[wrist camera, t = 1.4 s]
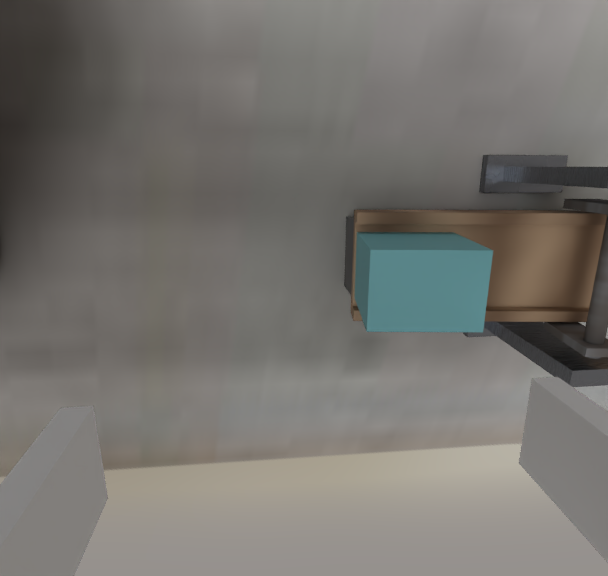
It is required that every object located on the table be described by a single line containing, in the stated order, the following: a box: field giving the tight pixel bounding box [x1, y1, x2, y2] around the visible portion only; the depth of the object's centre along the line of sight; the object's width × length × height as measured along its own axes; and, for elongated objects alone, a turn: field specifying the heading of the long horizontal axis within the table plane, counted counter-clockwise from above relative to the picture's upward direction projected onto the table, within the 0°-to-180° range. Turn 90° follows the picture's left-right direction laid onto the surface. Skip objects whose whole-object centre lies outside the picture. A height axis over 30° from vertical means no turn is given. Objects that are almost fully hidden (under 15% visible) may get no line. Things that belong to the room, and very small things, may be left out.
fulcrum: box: [464, 155, 608, 387], centre depth 33 cm, size 7×16×12 cm, turn 0°
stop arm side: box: [344, 217, 354, 294], centre depth 35 cm, size 2×6×4 cm, turn 0°
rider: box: [354, 232, 493, 332], centre depth 29 cm, size 7×5×7 cm
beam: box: [351, 199, 608, 359], centre depth 32 cm, size 32×11×11 cm, turn 90°
